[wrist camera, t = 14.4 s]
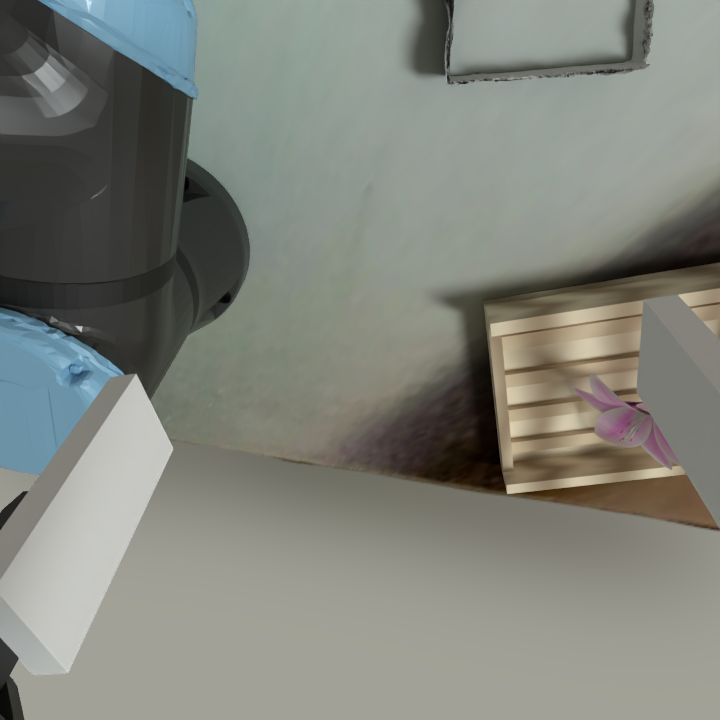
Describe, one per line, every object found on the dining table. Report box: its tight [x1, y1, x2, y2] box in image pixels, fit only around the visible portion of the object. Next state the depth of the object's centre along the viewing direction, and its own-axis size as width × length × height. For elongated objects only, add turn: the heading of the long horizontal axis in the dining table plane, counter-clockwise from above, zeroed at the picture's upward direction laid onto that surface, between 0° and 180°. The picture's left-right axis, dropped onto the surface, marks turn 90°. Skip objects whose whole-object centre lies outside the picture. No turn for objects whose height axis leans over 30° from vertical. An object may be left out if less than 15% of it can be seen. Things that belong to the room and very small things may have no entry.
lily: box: [571, 374, 683, 470], centre depth 48 cm, size 12×12×10 cm
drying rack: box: [483, 263, 720, 494], centre depth 50 cm, size 21×19×4 cm
